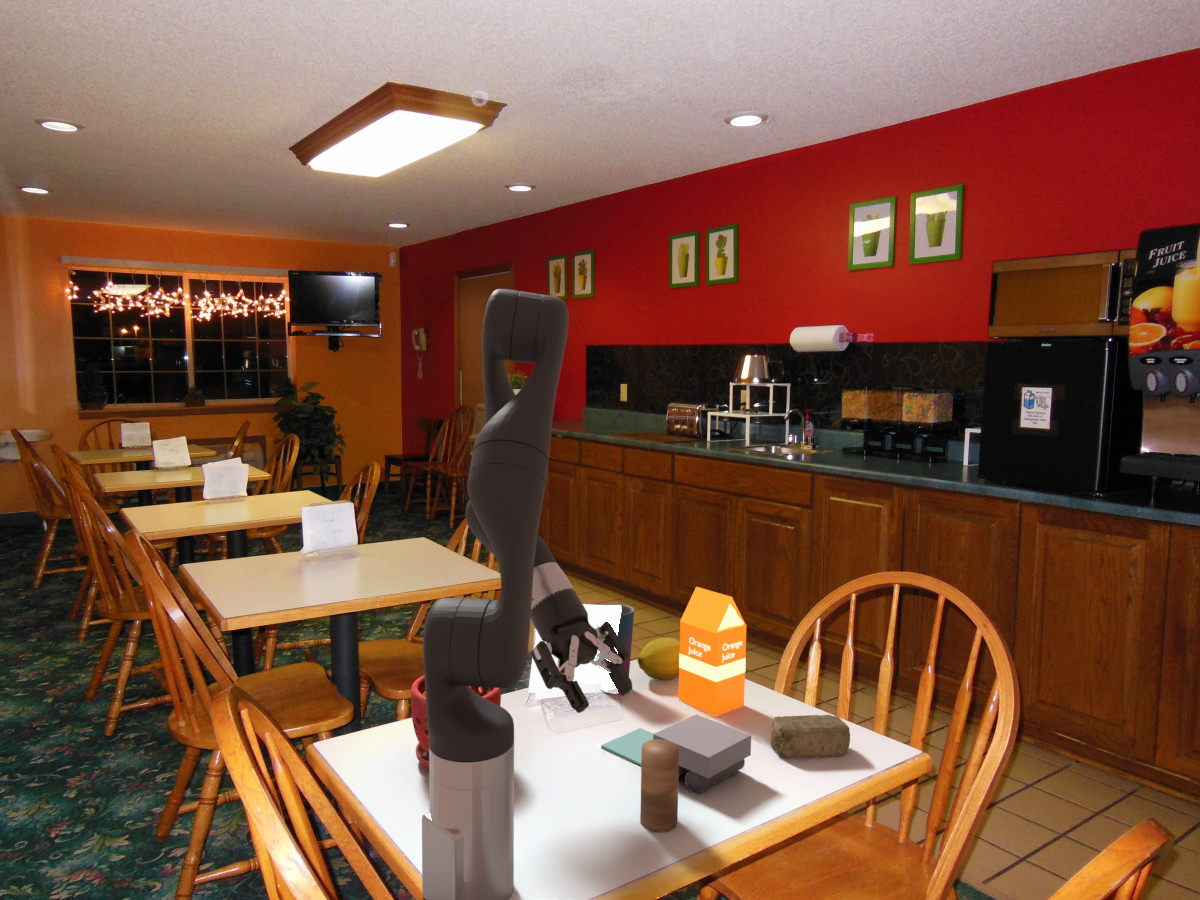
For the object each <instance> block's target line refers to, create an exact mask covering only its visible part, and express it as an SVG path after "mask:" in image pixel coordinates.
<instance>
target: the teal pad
mask: <svg viewBox="0 0 1200 900" xmlns="http://www.w3.org/2000/svg"><path fill="white" fill-rule="evenodd" d="M653 734H654V733H653V732H651V731H648V730H646V729H644V728H641V727H640V728H639V727H638V728H637V729H635V730H633V731H630V732H628V733H626V734H623V735H621V736H619V737H617V738H614V739H612V740H610V741H608V742H605V743H603V744H601V745H600V748H601V749H602V750H605V751H607V752H609V753H612V754H614V755H616V756H619V757H620V758H623V759H625V760H627V761H629V762H631V763H633V764H635V765H638V766H639V767H641V759H642V745H643V744H644V743H645V742H647V741H650V740H653Z"/></svg>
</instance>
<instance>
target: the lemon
mask: <svg viewBox="0 0 1200 900" xmlns="http://www.w3.org/2000/svg"><path fill="white" fill-rule="evenodd" d="M679 653H680V640H678V639H677V638H674V637H673V638H672V637H659V638H655V639H652V640H651V641H650V642H648V643H647V644H645V645H644V647H643V648H642V650H641V652H640V653H639V655H638V657H637V663H638V667H639V668H640V669H641V670H642V671H643V673H645V675H646V676H648V677H649V678H651V679H653V680H655V681H656V680H657V681H663V682H665V681H666V682H667V681H672V680H674V679H676V678H679Z"/></svg>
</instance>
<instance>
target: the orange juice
mask: <svg viewBox="0 0 1200 900" xmlns="http://www.w3.org/2000/svg"><path fill="white" fill-rule="evenodd" d="M679 623H680V626H679V627H680V628H679V630H680V631H679V642H680V653H679V676H678V701H680V700H681V701H680V702H682V701H683V703H684V702H686V703H688V704H687V705H689V704H690V705H689V706H691V705H692V706H691V707H693V706H694V708H695V707H696V709H698V710H700V709H701V710H700V711H702V710H703V711H702V712H704V711H705V713H707V714H709V715H711V716H713V715H714V717H716V715H717V716H720V715H721V714H724V713H727V712H730V711H732V709H733V710H735V709H738V708H740V707H743V706H745V689H746V688H745V685H746V684H745V683H746V679H745V678H746V668H747V667H746V662H747V661H746V658H747V657H746V652H747V623H745V621H744V618H743V617H742V615H741V612H740V611H739V609H738V607H737V605H736V603H735V600H734V598H733V596H730V595H726V594H723V593H719V592H716V591H714V590H713V591H712V590H709V589H705V588H703V587H699V586H696V587H695V589H694V591H693V593H692V595H691V597H690V599H689V601H688V603H687V606H686V608H685V610H684V612H683V614H682V617H681V618H680V621H679ZM686 703H685V704H686Z"/></svg>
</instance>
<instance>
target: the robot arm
mask: <svg viewBox="0 0 1200 900" xmlns="http://www.w3.org/2000/svg"><path fill="white" fill-rule="evenodd" d="M483 315H484V316H483V321H482V333H481V342H482V343H481V351H482V353H481V354H482V355H481V356H482V358H481V359H482V381H483V382H482V383H483V399H484V400H483V401H484V403H483V404H484V420H485V421H484V422H485V423H484V425H483V427H482V429H481V430H480V431H479V432H478V435H477V436H476V438H475V441H474V446H473V450H472V455H471V462H470V468H469V471H468V477H467V483H466V484H467V485H466V486H467V487H466V489H467V495H468V498H469V499H468V501H467V503H466V507H465V519H466V523H467V525H468V527H469V530H470V531H471V533H472V534H473V535H474V536H475V537H476V539H477V540H478V541H479V542H480V543H481V544H482V545H483V546H484V547H485V548H486V549H487V550H488V551H489V552H490V553H491V554H492V556H494V558H495V559H496V562H497V565H498V569H499V574H500V593H499V598H498V599H486V598H470V597H469V598H465V597H464V598H463V597H462V598H461V597H442V598H440V599H438V600H436V601H435V602H434V603H433V604H432V605H431V607H430V609H429V611H428V613H427V615H426V618H425V622H424V628H423V635H422V636H423V637H422V638H423V640H422V641H423V643H422V660H423V675H424V676H425V691H426V692H425V696H426V717H427V727H428V732H429V768H428V769H429V772H428V773H429V776H428V777H429V782H428V783H429V784H428V785H429V794H428V795H429V811H428V812H426V813H424V814H423V815H422V817H421V861H422V862H421V864H422V865H421V866H422V868H421V870H422V871H421V873H422V874H421V876H422V877H421V878H422V880H421V881H422V883H421V885H422V890H421V891H422V892H421V893H422V895H421V896H422V897H423V898H424V899H425V900H510V899H511V898H512V896H513V893H514V889H515V887H514V885H515V884H514V883H515V882H514V879H515V878H514V875H515V874H514V871H515V869H514V866H515V865H514V864H515V863H514V859H515V858H514V857H515V853H514V851H515V850H514V849H515V848H514V846H515V845H514V843H515V838H514V837H515V835H514V833H515V827H514V826H515V824H514V822H515V820H514V819H515V816H514V815H515V812H514V811H515V810H514V809H515V724H514V718H513V716H512V715H511V713H510V712H509V711H508V710H506V709H505V708H504V707H502V706H501V705H500V706H499V705H497V704H494V703H492V702H490V701H488V700H486V699H484V698H483V697H481V696H480V695H478V694H477V693H476V692H474V691H473V690H472V689H471V686H477V687H478V688H479V687H480V688H481V687H492V688H501V689H508V688H513V687H514V686H516V685H517V684H518V683H519V682H520V681H521V678H522V677H523V674H524V671H525V667H526V663H527V658H528V652H529V645H530V644H529V642H530V632H531V631H530V630H531V623H532V624H533V626H534V628H535V630H536V631H537V634H538V635H539V637H540V639H541V640H540V641H539V642H538V643H537V644H536V645H535V646H534V647H533V649H531V651H530V655H531V657H532V660H533V661H534V664H535V666H536V668H537V670H538V673H539V675H540V677H541V679H542V682H543V684H544V686H545V687H546V688H547V689H549V690H552V689H554V688H557V689H560V690H562V692H563V694H564V695H565V697H566V699H567V701H568V703H569V706H570V707H571V708H572V709H573V710H574V711H575V712H576V713H577V714H580V713H582V712H585V711H586V709H587V708H589V705H590V704H589V701H588V699H587V697H586V696H585V694H584V692H583V690H582V688H581V687H580V686H581V685H580V684H579V683H578V681H577V680H575V670H576V669H575V668H578V667H579V666H580V665H587V664H590V663H591V664H592V665H594V666H596V667H598V666H599V667H600V666H601V667H603V668H604V669H606V670H607V671H609V672H611V673H609V675H610V677H611V679H612V681H613V682H614V684H615V686H616V688H617V689H618V691H619V693H620V694H619V695H621V697H624V696H627V695H628V694H629V693H630V692H631V691H633V682H632V680H631V678H630V675H629V676H628V675H627V673H626V671H625V669H624V668H623V666H622V662H623V661H624V660H625V659H626V658H627V657H628V656H629V654H628V652H627V650H626V649H625V647H624V645H623V644H622V642H621V641H620V639H619V638H618V636H617V635H616V633H615V632H614V630H613V628H612V627H611V625H610V624H609V623H608V622H605V623H604V624H603V625H602V626H601V627H598V626H597V627H596V628H594V627H593V626H592V625H591V624H590V623H589V613H588V611H587V609H586V608H585V606H584V604H583V602H582V601H581V599H580V597H579V596H578V594H577V591H576V590H575V589H574V587H573V585H572V583H571V582H570V580H569V578H568V576H567V575H566V573H565V572H564V570H562V568H561V566H560V565H559V564H558V563H557V560H556V559H555V558H554V557H555V556H553V554H552V551H550V549H549V546H547V543H546V542H545V540H544V539H543V538H542V537H541V536H539V535H538V534H539V529H540V522H541V515H542V509H543V504H544V503H543V502H544V500H545V499H544V497H545V492H546V486H547V478H548V470H549V461H550V450H551V441H552V429H553V422H554V419H553V418H554V411H555V404H556V397H557V392H558V391H557V390H558V387H559V381H560V377H561V370H562V367H563V366H562V365H563V361H564V356H565V351H566V350H565V349H566V345H567V340H568V333H569V323H570V321H569V320H570V318H569V317H570V316H569V308H568V305H567V303H566V302H565V301H564V299H563V298H559V297H556V296H553V295H548V294H540V293H535V292H528V291H523V290H522V291H521V290H520V291H519V290H513V289H508V288H507V289H506V288H497V289H495V290H494V291H492V293H491V294H490V296H489V297H488V299H487V303H486V306H485V310H484V314H483ZM506 361H510V362H516V363H517V362H519V363H523V364H524V363H525V364H532V365H535V366H534V368H533V370H532V372H531V374H530V376H529V378H528V379H527V381H526V382H525V383H524V385H523V386H522V388H521V389H520V390H519V391H518V392H517V393H515V391H514V389H513V387H512V385H511V383H510V379H509V377H508V372H507V365H506V364H507V363H506ZM614 647H615V648H616V649H617V651H618V653H619V654H617V652H616V651H615V649H614ZM599 651H600V653H599ZM553 656H554V657H555V658H556V659H557V663H556V661H555V660H554V658H553ZM605 658H606V659H608V660H610V661H611V662H609V661H607V660H606V659H605Z"/></svg>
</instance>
